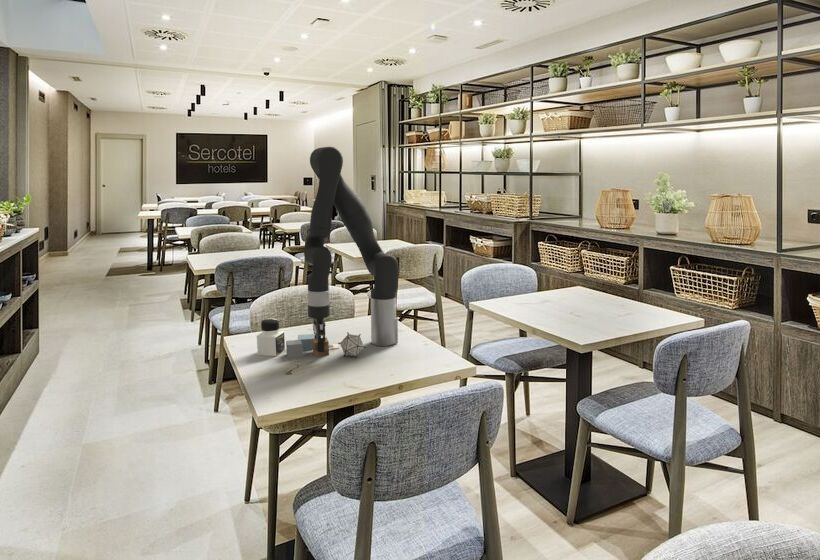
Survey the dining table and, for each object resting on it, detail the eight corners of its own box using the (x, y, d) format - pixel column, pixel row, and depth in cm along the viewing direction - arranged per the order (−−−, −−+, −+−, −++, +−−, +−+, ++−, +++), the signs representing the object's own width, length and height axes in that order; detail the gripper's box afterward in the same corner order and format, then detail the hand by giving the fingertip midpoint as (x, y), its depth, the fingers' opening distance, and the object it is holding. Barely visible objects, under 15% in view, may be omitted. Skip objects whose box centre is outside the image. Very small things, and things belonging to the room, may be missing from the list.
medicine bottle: (276, 356, 194) (275, 323, 191) (257, 355, 195) (255, 321, 193) (285, 350, 201) (283, 317, 198) (266, 349, 202) (264, 316, 200)
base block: (314, 344, 208) (314, 333, 207) (315, 349, 202) (314, 338, 201) (298, 345, 207) (297, 334, 206) (298, 350, 201) (297, 339, 200)
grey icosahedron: (357, 365, 196) (375, 343, 195) (345, 364, 188) (363, 340, 187) (341, 349, 200) (358, 326, 198) (328, 347, 192) (346, 324, 191)
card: (337, 344, 207) (337, 343, 207) (339, 348, 202) (339, 347, 202) (320, 346, 205) (320, 345, 205) (322, 349, 201) (322, 348, 201)
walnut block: (327, 350, 200) (326, 337, 199) (329, 355, 195) (328, 341, 194) (312, 352, 199) (312, 338, 198) (314, 356, 194) (313, 342, 193)
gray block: (301, 353, 198) (300, 339, 197) (302, 357, 193) (302, 343, 192) (286, 354, 196) (286, 340, 195) (287, 359, 192) (287, 345, 191)
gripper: (332, 307, 188) (333, 353, 191) (326, 298, 201) (327, 341, 204) (309, 308, 186) (310, 355, 189) (305, 299, 199) (306, 343, 202)
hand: (319, 348), depth 197 cm, fingers open, 8 cm apart
